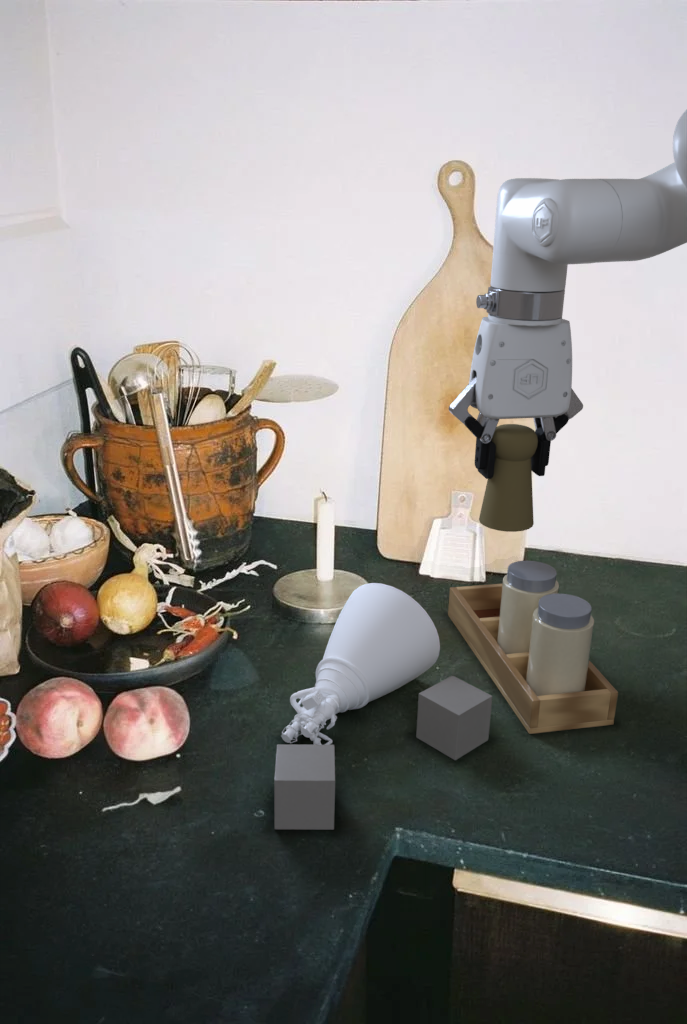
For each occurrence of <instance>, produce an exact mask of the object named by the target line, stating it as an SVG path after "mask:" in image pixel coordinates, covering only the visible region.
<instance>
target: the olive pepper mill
mask: <svg viewBox="0 0 687 1024" xmlns="http://www.w3.org/2000/svg"><path fill="white" fill-rule="evenodd" d="M492 442H493V443H495V444H496V453H495V464H494V476H493V477H492V478H491V479H486V480H487V481H486V486H485V489H484V494H483V498H482V504H481V509H480V513H479V517H478V521H479V523H480V524H481V525H482V526H483V527H486V528H487V529H490V530H494V531H499V532H505V533H509V532H510V533H511V532H512V533H516V532H524V531H527V530H530V529H531V528H532V527H534V524H535V522H534V501H533V499H534V497H533V496H534V495H533V476H532V475H533V471H532V470H531V457H532V456H533V455H534V454H535V451H536V449H537V445H538V438H537V435H536V433H535V430H534V429H533V428H532V427H530V426H527V425H523V424H517V423H504V424H500V425H497V427H496V429H495V432H494V434H493V438H492Z"/></svg>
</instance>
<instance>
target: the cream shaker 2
mask: <svg viewBox="0 0 687 1024" xmlns="http://www.w3.org/2000/svg"><path fill="white" fill-rule="evenodd" d="M594 627H595V619H594V616H593V615H592V605H591V604H590V603H589V602H588V601H587V600H586V599H584V598H582V597H580V596H577V595H574V594H570V593H569V594H568V593H559V592H558V593H557V594H549V595H545V596H543V597H542V598H540V600H539V602H538V608H537V609H535V611H534V612H533V620H532V629H531V638H530V647H529V657H528V666H527V675H526V682H527V683H528V685H529V686H530V687H531V689H532V690H533V691H534V693H535V694H536V696H543V695H553V694H562V693H572V692H582V691H585V687H586V679H587V672H588V665H589V660H590V658H591V657H590V656H591V649H592V642H593V635H594Z"/></svg>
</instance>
